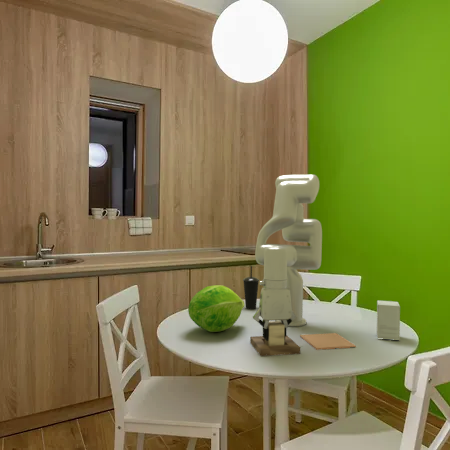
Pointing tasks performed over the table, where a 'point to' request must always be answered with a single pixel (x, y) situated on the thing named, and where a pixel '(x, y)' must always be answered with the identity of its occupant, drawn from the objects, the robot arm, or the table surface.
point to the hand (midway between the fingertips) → (274, 338)
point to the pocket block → (274, 347)
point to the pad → (327, 341)
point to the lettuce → (215, 308)
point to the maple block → (275, 333)
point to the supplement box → (388, 320)
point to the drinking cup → (250, 291)
